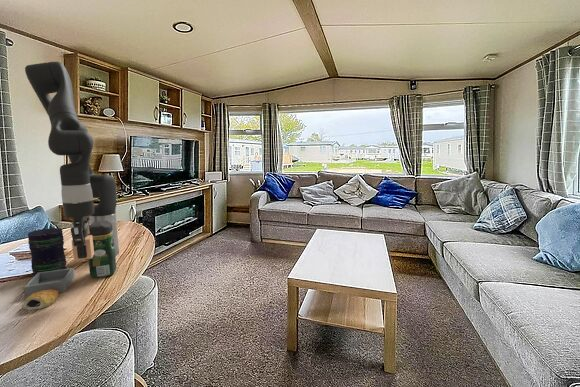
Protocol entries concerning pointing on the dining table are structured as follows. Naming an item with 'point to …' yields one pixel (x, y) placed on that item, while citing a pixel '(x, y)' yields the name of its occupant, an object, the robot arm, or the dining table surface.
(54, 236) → the storage jar
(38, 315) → the dining table surface
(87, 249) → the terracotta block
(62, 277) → the charcoal tray
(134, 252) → the dining table surface
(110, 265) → the coffee jar
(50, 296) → the pastry
